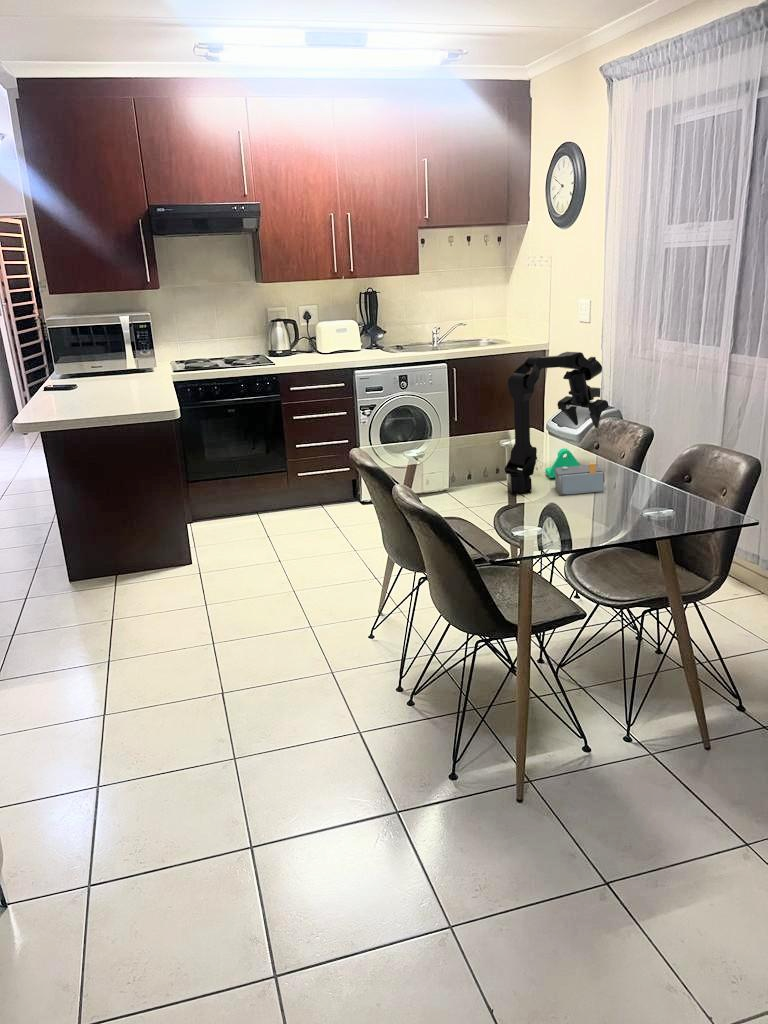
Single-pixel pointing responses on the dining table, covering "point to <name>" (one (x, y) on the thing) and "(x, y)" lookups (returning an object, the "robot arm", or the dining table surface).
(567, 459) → the camera mount
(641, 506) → the dining table surface
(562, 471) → the camera body
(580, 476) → the side door
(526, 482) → the robot arm
